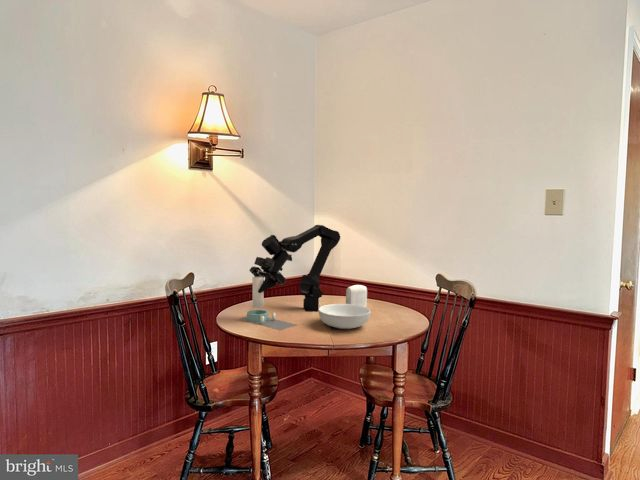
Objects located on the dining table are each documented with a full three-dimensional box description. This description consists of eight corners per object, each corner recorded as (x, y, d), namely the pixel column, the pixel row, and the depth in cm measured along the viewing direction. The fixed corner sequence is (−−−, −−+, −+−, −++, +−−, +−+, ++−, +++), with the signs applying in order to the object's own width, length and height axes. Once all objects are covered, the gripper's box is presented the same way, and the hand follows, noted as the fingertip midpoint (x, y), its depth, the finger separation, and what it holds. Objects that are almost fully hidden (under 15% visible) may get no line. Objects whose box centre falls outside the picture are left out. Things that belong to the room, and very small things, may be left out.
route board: (297, 326, 176) (297, 317, 175) (280, 331, 168) (280, 322, 167) (257, 315, 190) (257, 307, 189) (239, 320, 182) (239, 312, 182)
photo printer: (361, 309, 205) (362, 283, 204) (367, 311, 201) (368, 284, 200) (344, 312, 199) (344, 285, 198) (349, 314, 195) (350, 286, 194)
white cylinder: (265, 305, 183) (265, 276, 182) (260, 308, 179) (260, 278, 178) (255, 304, 185) (255, 276, 184) (250, 307, 181) (250, 278, 179)
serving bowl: (380, 329, 174) (381, 312, 173) (335, 336, 164) (335, 318, 163) (351, 316, 192) (351, 301, 191) (308, 322, 182) (309, 306, 181)
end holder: (268, 316, 187) (268, 309, 187) (267, 322, 178) (267, 314, 178) (248, 316, 186) (248, 309, 186) (246, 322, 178) (246, 314, 178)
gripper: (253, 247, 189) (230, 276, 183) (280, 252, 176) (257, 282, 169) (268, 264, 195) (246, 292, 189) (295, 269, 182) (273, 300, 175)
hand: (255, 291), depth 180 cm, fingers closed on white cylinder, 4 cm apart
